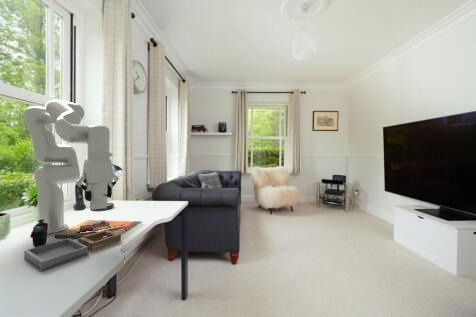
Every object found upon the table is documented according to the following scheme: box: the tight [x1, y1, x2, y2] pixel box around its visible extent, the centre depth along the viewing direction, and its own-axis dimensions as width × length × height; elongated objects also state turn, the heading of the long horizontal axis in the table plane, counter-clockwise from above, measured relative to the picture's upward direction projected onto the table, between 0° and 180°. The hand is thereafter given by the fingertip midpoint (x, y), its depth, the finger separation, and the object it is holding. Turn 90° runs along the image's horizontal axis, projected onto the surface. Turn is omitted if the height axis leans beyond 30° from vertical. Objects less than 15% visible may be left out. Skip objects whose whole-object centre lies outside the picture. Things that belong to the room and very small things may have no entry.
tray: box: [23, 237, 89, 272], centre depth 76 cm, size 16×13×3 cm
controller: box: [29, 219, 48, 248], centre depth 84 cm, size 4×12×10 cm, turn 36°
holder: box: [77, 230, 122, 253], centre depth 87 cm, size 11×11×3 cm
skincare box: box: [89, 179, 108, 211], centre depth 87 cm, size 6×4×12 cm
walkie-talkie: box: [76, 219, 124, 234], centre depth 104 cm, size 9×4×20 cm
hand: (98, 198), depth 87 cm, fingers closed on skincare box, 7 cm apart
